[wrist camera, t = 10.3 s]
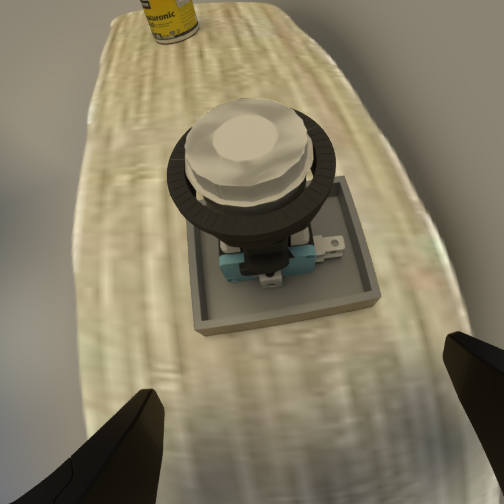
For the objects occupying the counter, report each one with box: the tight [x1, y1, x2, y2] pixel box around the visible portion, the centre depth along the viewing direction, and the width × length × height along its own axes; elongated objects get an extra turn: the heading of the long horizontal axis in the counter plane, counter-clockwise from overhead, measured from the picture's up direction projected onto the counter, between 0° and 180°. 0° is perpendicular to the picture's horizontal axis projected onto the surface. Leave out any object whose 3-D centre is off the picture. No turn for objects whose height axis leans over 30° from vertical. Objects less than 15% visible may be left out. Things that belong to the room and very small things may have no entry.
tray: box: [186, 176, 381, 336], centre depth 18 cm, size 7×9×2 cm
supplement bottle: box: [140, 0, 198, 44], centre depth 27 cm, size 5×5×10 cm
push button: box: [167, 98, 345, 289], centre depth 13 cm, size 7×5×10 cm
